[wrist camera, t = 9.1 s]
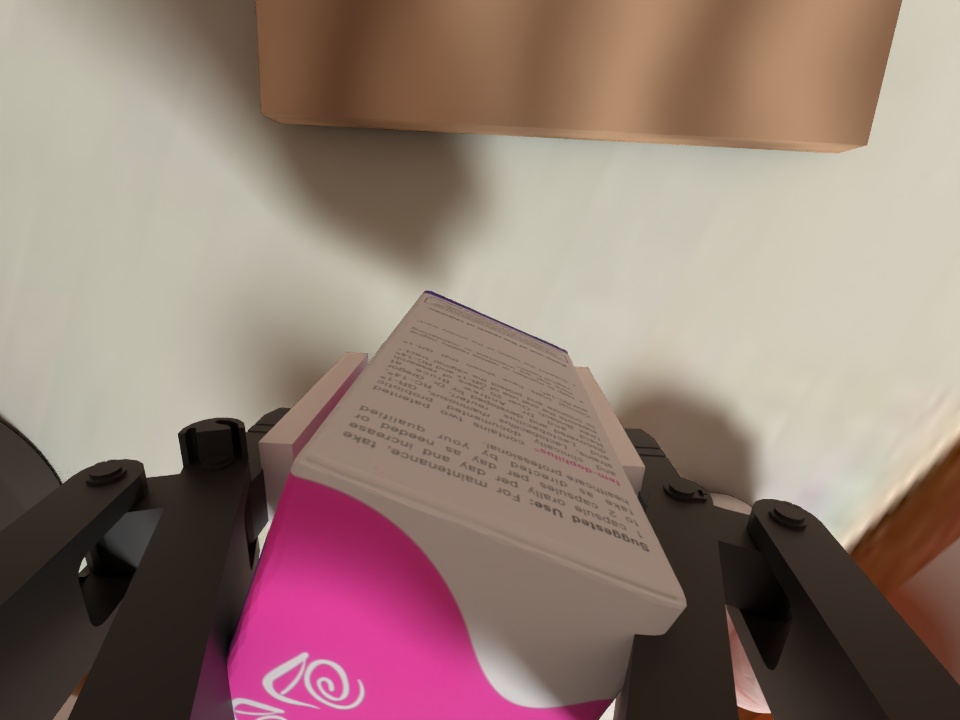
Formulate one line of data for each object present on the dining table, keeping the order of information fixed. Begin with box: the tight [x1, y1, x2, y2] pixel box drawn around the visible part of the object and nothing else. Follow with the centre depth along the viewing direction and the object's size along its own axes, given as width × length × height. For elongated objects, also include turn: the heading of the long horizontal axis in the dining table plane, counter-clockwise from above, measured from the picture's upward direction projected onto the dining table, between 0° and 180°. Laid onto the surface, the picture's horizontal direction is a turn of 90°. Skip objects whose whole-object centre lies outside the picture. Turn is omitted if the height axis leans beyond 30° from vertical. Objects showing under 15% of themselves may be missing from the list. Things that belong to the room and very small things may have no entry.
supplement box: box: [227, 291, 687, 720], centre depth 12 cm, size 6×6×12 cm
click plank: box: [256, 0, 902, 153], centre depth 18 cm, size 24×8×2 cm, turn 87°
